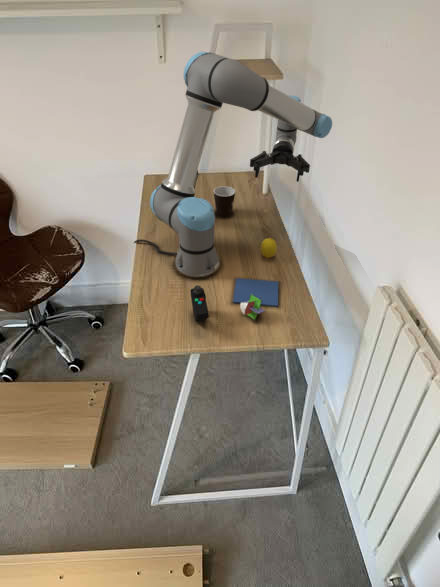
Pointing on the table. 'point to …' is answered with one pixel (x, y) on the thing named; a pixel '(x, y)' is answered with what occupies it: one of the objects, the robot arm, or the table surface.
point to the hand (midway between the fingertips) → (277, 175)
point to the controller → (199, 304)
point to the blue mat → (256, 291)
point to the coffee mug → (224, 200)
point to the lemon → (268, 247)
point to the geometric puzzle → (251, 307)
